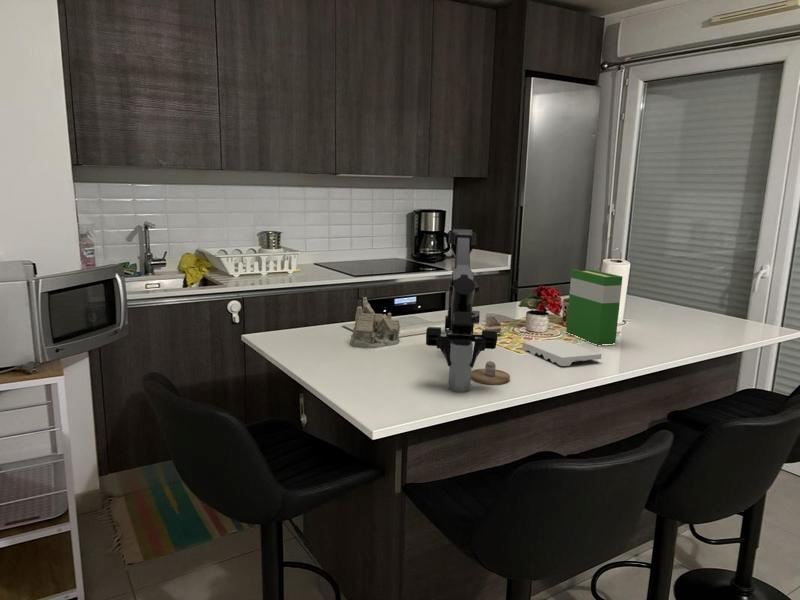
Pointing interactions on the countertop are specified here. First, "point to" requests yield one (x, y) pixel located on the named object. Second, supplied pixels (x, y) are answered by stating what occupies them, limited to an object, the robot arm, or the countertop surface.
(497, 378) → the post stand
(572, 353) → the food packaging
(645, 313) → the countertop surface
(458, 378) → the steel sleeve
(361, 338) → the ceramic cottage
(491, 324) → the architectural model
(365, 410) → the countertop surface
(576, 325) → the hardback book
